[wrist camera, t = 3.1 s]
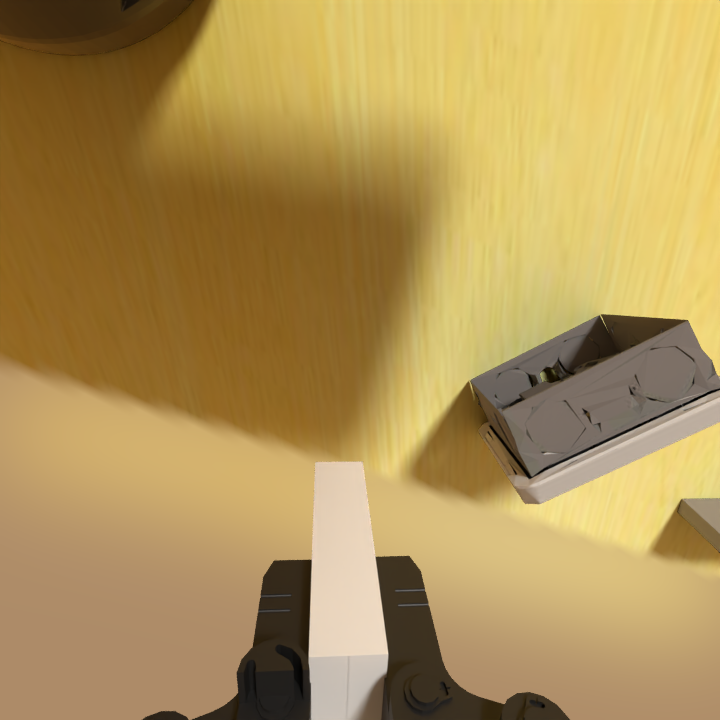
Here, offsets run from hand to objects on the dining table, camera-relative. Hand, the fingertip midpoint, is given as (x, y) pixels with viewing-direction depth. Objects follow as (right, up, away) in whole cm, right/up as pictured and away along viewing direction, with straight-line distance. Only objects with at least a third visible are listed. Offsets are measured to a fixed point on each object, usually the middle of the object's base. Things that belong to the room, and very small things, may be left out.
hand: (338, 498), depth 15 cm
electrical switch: (+10, +4, +11) cm, 16 cm away
